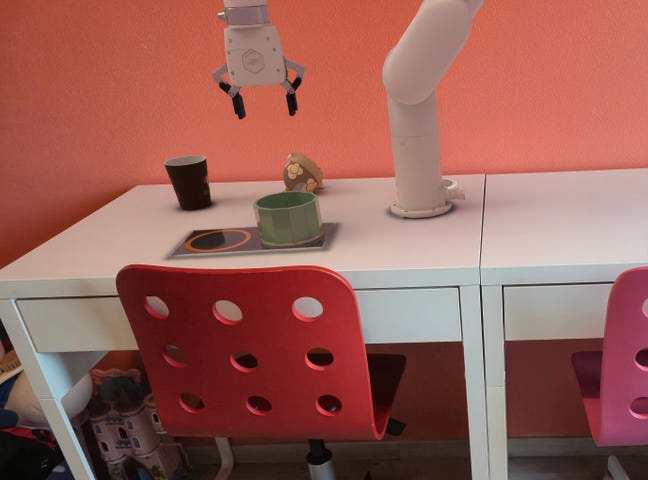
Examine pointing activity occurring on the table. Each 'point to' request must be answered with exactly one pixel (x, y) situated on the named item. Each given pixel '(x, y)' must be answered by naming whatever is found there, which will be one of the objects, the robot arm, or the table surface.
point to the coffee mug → (190, 181)
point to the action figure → (302, 173)
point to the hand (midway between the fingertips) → (267, 116)
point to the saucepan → (288, 217)
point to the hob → (235, 241)
